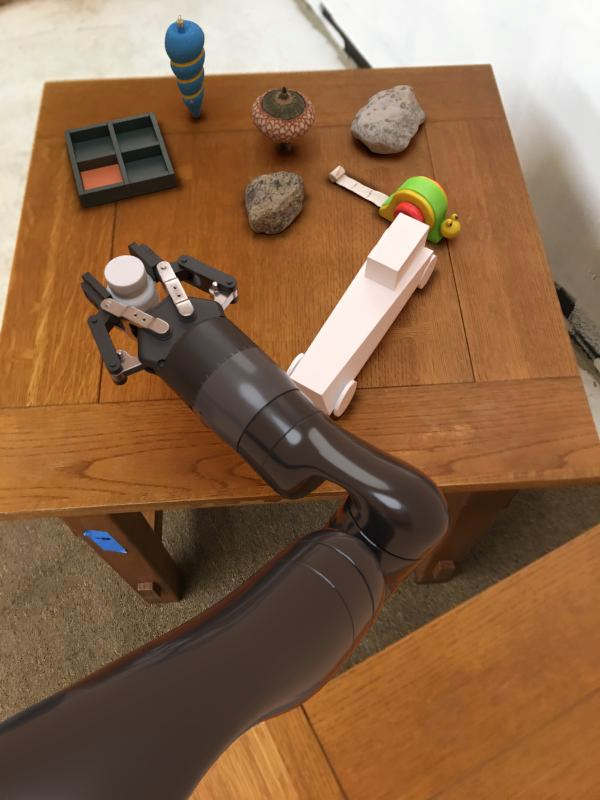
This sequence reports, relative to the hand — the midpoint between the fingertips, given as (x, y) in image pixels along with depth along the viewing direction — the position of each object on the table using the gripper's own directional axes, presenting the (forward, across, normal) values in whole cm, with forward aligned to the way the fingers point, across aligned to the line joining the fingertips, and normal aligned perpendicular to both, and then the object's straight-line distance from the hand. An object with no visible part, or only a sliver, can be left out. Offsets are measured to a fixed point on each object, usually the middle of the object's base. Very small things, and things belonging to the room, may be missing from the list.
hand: (110, 265), depth 58 cm
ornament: (+29, -30, +18) cm, 45 cm away
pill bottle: (-3, 0, +6) cm, 7 cm away
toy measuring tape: (-3, -38, +18) cm, 42 cm away
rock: (+8, -26, +18) cm, 33 cm away
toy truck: (-13, -21, +18) cm, 31 cm away
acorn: (+15, -35, +18) cm, 42 cm away
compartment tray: (+28, -16, +17) cm, 37 cm away
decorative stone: (+8, -48, +18) cm, 52 cm away
